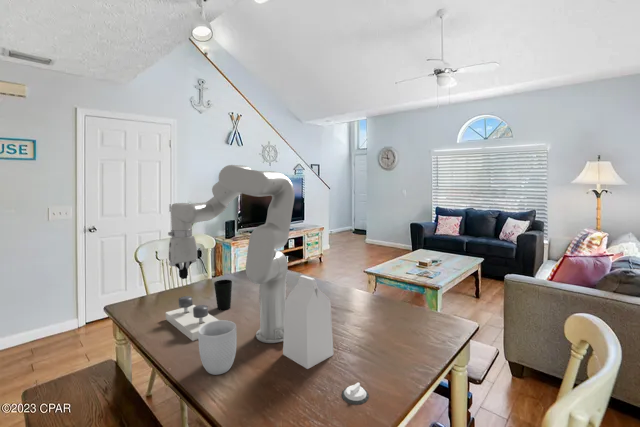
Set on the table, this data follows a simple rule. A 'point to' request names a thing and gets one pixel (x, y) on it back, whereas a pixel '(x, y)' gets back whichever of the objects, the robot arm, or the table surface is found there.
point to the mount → (187, 321)
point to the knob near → (200, 312)
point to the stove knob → (355, 394)
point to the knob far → (185, 303)
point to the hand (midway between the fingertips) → (183, 278)
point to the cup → (223, 294)
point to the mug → (217, 345)
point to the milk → (307, 324)
